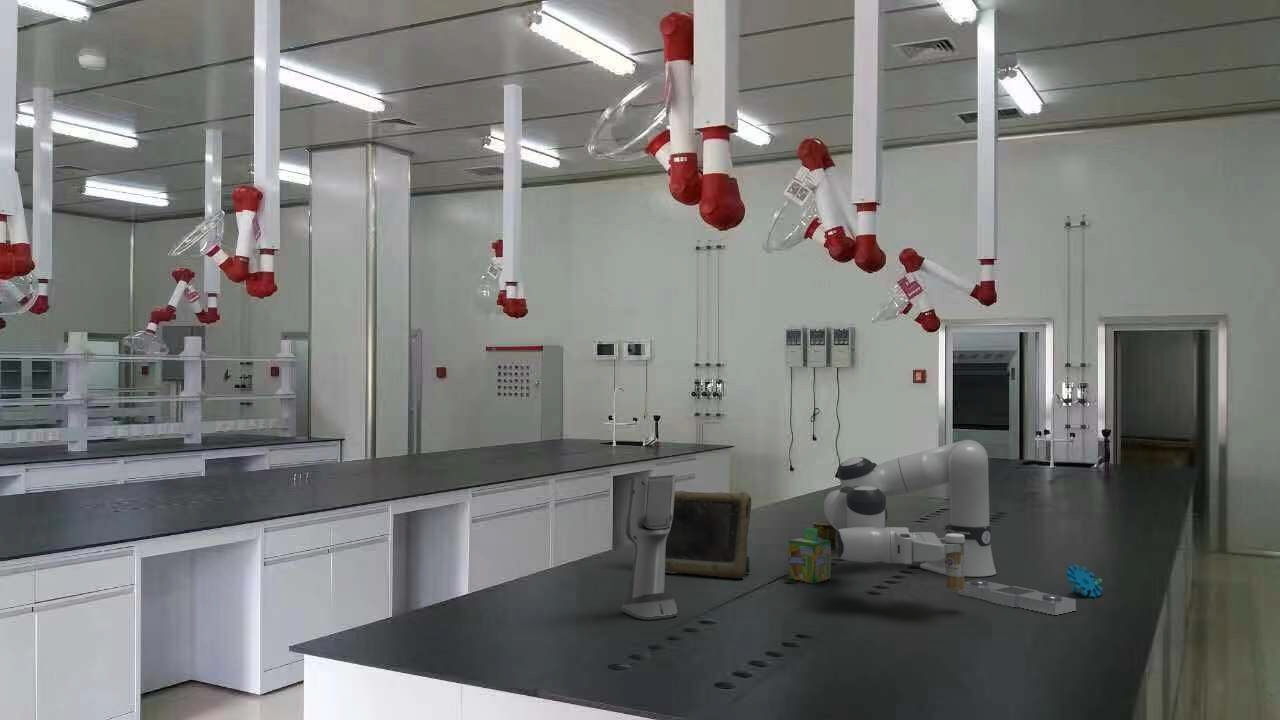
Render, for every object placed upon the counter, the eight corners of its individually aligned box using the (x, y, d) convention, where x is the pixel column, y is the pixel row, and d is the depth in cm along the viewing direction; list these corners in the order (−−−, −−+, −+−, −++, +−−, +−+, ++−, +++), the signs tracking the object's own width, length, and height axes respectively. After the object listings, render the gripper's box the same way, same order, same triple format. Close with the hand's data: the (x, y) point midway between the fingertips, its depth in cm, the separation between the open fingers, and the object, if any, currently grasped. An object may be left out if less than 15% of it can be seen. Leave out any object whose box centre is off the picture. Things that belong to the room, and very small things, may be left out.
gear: (1080, 594, 252) (1062, 561, 260) (1066, 606, 256) (1049, 574, 263) (1113, 596, 256) (1095, 564, 263) (1100, 609, 260) (1082, 577, 267)
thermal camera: (641, 622, 236) (639, 477, 237) (619, 611, 248) (617, 473, 248) (683, 616, 241) (681, 474, 242) (660, 606, 253) (658, 470, 253)
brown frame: (639, 574, 294) (637, 491, 295) (655, 566, 307) (654, 486, 308) (743, 581, 282) (742, 494, 283) (756, 572, 295) (755, 489, 295)
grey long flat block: (955, 594, 261) (955, 581, 261) (980, 590, 266) (979, 576, 266) (1053, 616, 236) (1052, 601, 236) (1078, 611, 241) (1077, 596, 241)
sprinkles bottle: (943, 589, 242) (942, 534, 242) (950, 585, 246) (949, 532, 246) (961, 591, 239) (960, 536, 239) (968, 588, 242) (967, 533, 243)
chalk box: (788, 580, 283) (787, 528, 283) (805, 575, 290) (804, 525, 290) (815, 584, 277) (814, 531, 277) (832, 579, 283) (831, 528, 284)
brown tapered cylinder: (821, 548, 333) (821, 519, 334) (848, 551, 328) (848, 521, 328) (804, 554, 323) (803, 524, 323) (832, 557, 317) (831, 526, 317)
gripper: (898, 550, 255) (953, 551, 253) (905, 565, 235) (965, 566, 232) (897, 526, 255) (952, 526, 253) (904, 539, 235) (964, 540, 232)
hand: (958, 545), depth 242 cm, fingers closed on sprinkles bottle, 4 cm apart
